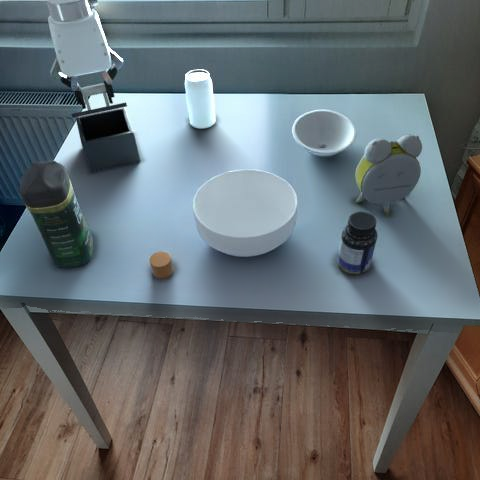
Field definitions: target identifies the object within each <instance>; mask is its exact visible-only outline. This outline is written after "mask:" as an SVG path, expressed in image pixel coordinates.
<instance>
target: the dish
mask: <svg viewBox="0 0 480 480" xmlns="http://www.w3.org/2000/svg"><path fill="white" fill-rule="evenodd" d="M291 132H292V137H293V139H294V141H295V142H296V143H297V144H298V145H299V146H300V147H301V148H303V149H304V150H305V151H306V152H308V153H310V154H312V155H313V156H316V157H317V156H318V157H333V156H335V155H337V154H339V153H341V152H344V151H345V150H347V149H349V148H350V147H351V146H352V145H353V144H354V143H355V141H356V138H357V127H356V126H355V123H354V122H353V121H352V119H350V118H349V117H347V116H346V115H344V114H342V113H340V112H338V111H335V110H329V109H315V110H310V111H307V112H304V113H303V114H301V115H299V117H297V118H296V119H295V121H294V122H293V125H292V128H291Z"/></svg>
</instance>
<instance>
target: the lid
mask: <svg viewBox="0 0 480 480" xmlns="http://www.w3.org/2000/svg"><path fill="white" fill-rule="evenodd" d="M80 89H81V92H82V95H83V97H84V101H85V105H86V109H87V110H83V111H78V112H73V113H71V115H70V116H71V117H72V118H73V119H74V118H75V119H76V117H80V116H85V115H90V114H95V113H99V112H104V111H109V110H114V109H118V108H123V107H125V108H127V107H128V104H127V102H125V101H124V102H121V103H116V104H110V103H109V99H108V96H107V92H106V88H105V84H104V82H103V83H97V84H93V85H87V86H83V87H80ZM101 94H102V95H103V100H104V103H105V106H102V107H97V108H92V107H91V104H90V101H89V98H88V97H92V96H97V95H101Z"/></svg>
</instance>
